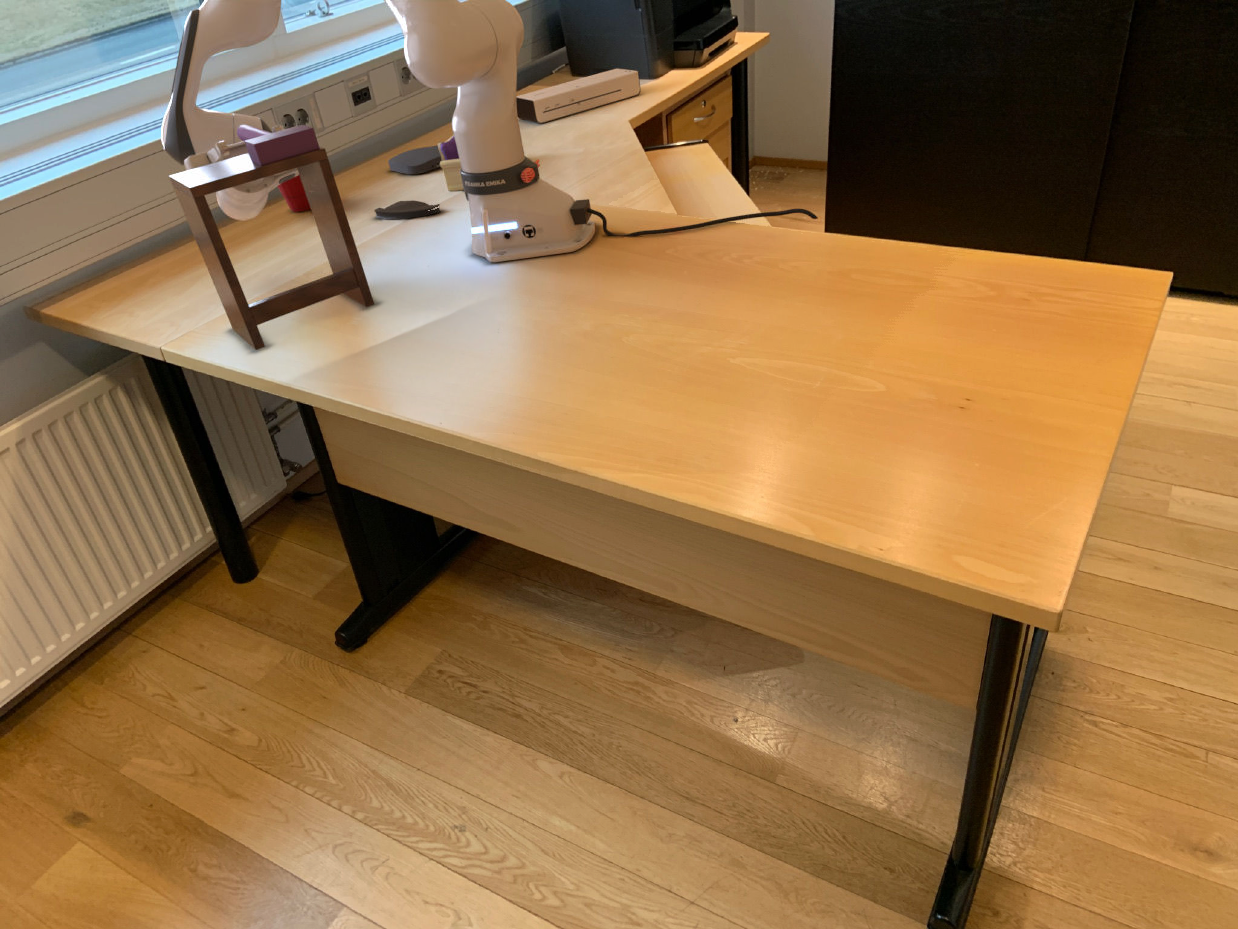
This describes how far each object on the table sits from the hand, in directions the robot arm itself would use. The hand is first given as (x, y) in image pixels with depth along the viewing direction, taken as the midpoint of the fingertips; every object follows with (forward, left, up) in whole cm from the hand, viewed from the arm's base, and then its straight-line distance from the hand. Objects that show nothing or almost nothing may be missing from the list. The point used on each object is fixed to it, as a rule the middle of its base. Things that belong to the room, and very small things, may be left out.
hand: (251, 137), depth 142 cm
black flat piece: (-3, -38, -26) cm, 46 cm away
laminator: (-20, -121, -26) cm, 125 cm away
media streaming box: (+8, -75, -26) cm, 80 cm away
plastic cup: (+27, -48, -26) cm, 61 cm away
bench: (-6, +12, -26) cm, 29 cm away
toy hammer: (-6, +5, -1) cm, 8 cm away
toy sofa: (-12, -61, -26) cm, 67 cm away
